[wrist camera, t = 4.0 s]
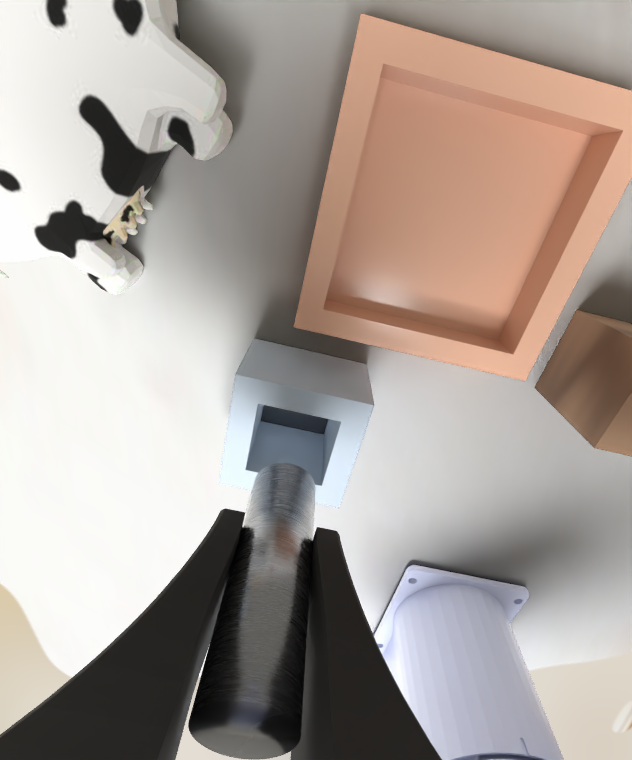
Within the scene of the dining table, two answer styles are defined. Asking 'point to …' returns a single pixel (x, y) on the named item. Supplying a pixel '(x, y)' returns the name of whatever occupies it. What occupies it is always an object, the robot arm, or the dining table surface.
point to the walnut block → (593, 380)
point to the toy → (95, 126)
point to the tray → (460, 199)
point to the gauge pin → (261, 625)
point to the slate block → (304, 395)
